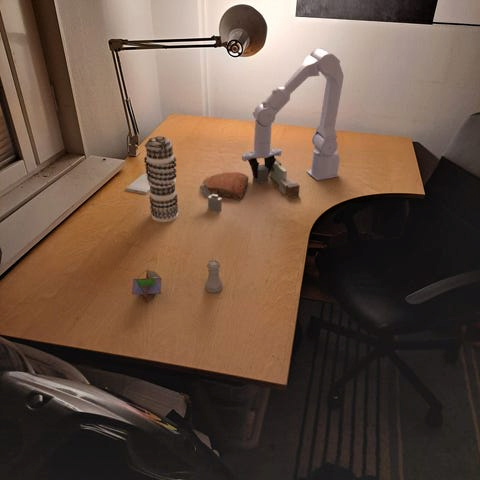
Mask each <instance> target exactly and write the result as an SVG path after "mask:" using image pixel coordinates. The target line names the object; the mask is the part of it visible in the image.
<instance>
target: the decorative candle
mask: <svg viewBox="0 0 480 480" xmlns="http://www.w3.org/2000/svg"><path fill="white" fill-rule="evenodd" d="M173 145H174V143H173V141H171V140H170V139H169V138H168V137H165V136H153V137H150V138H149V139H148V140H147V142H145V143H144V148H145V149H146V150H145V151H146V154H145V157H144V158H143V159H144V160H143V161H144V163H145V164H144V166H145V174H147V177H148V178H147V180H148V184H149V185H150V192H149V197H148V199H149V203H150V207H149V208H150V213H151V214H150V215H151V219H153V221H155V222H159V223H160V222H161V223H169V222H172V221H175V220H176V219H177V218H178V217H179V204H178V194H177V190H176V183H177V179H176V178H177V174H176V173H177V168H176V167H177V158H176V157H175V155H174V151H173Z"/></svg>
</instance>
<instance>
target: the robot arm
mask: <svg viewBox="0 0 480 480" xmlns="http://www.w3.org/2000/svg"><path fill="white" fill-rule="evenodd" d="M340 63H341V60H340V59H339V58H338V57H337V56H336V55H334V53H330V52H329V51H326V50H325V49H324V48H321V47H320V48H319V47H318V48H314V49H313V50H312V51H311V53H310V55H309V54H308V55H307V56H306V57H305V58H304V61H303V62H302V63H301V65H300V66H298V69H297V70H296V71H295V72H294V73H293V74H292V76H291V77H290V78H289V79H288V80H287V82H285V84H284V85H283V86H280V87H279V86H277V87H276V89H275V88H274V89H272V90H271V94H270V95H269V96H268V97H267V98H266V99H265V100H264V101H263V100H262V102H261V104H258V105H257V106H256V107H255V108H254V111H253V112H252V114H253V118H254V119H255V123H254V136H253V137H254V141H253V143H254V144H253V151H250V152H247V153H243V154H241V160H242V161H243V162H248V164H249V165H250V168H251V173H252V177H254V178H255V179H256V178H257V172H258V166H259V165H260V162H258V159H263V160H264V162H263V163H264V165H265V166H266V167H267V168H268V169H269V171H268V177H270V170H271V168H272V166H273V164H274V163H275V162H276V159H277V158H276V157H277V156H278V157H282V150H281V149H280V148H276V149H275V148H272V149H271V146H272V145H271V143H272V126H273V125H272V124H273V123H274V122H275V120H276V116H277V114H278V113H279V112H280V111H281V110H282V109H283V108H284V107H285V106H286V104H288V103H289V102H290V100H291V94H292V93H293V92H295V91H296V90H297V89H298V88H299V87H300V85H302V84H303V83H304V82H305V81H306V80H307V79H308V78H311V77H318V76H319V77H320V74H321V75H322V76H323V77H324V79H325V80H326V81H325V88H324V96H323V101H322V107H321V108H322V109H321V113H320V121H319V125H318V126H317V127H316V128H315V132H314V134H313V136H312V138H311V141H312V145H313V146H314V147H313V154H312V160H311V161H312V162H311V168H310V169H307V170H306V173H308V174H309V175H310V176H311V177H312V178H314V179H315V180H316V181H320V180H326V179H327V180H328V179H331V178H332V179H333V178H337V177H339V174H338V172H339V167H340V154H339V152H338V151H337V150H338V145H339V144H338V142H337V138H338V135H337V131H336V123H337V122H336V121H337V116H338V111H339V106H340V98H341V94H342V88H343V82H344V77H345V75H344V72H343V70H342V67H341V64H340Z"/></svg>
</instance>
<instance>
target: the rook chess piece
mask: <svg viewBox="0 0 480 480" xmlns="http://www.w3.org/2000/svg"><path fill="white" fill-rule="evenodd" d="M220 267H221V264H220V262H219V261H218V260H217V259H215V260H214V259H211V260H208V263H207V264H206V268H208V269H207V273H208V277H207V279H206V281H205V284H204V288H205V290H206V291H207V292H209V293H211V294H215V293H219V292H221V290H223V287H224V285H223V281H222V279H221V278H220V274H219V273H220Z"/></svg>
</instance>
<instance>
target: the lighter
mask: <svg viewBox="0 0 480 480" xmlns="http://www.w3.org/2000/svg"><path fill="white" fill-rule="evenodd" d="M199 189H200V191H201V193H202V196H203V198H205V199H206V198H207V205H208V206H207V208H208V210H210V211H214V212H218V213H220V212H221V211H222V197H219V195H216V194H212V195H210V193H209V191H208V188H207V186H206V184H203V183H202V184H201V185H199Z"/></svg>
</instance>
